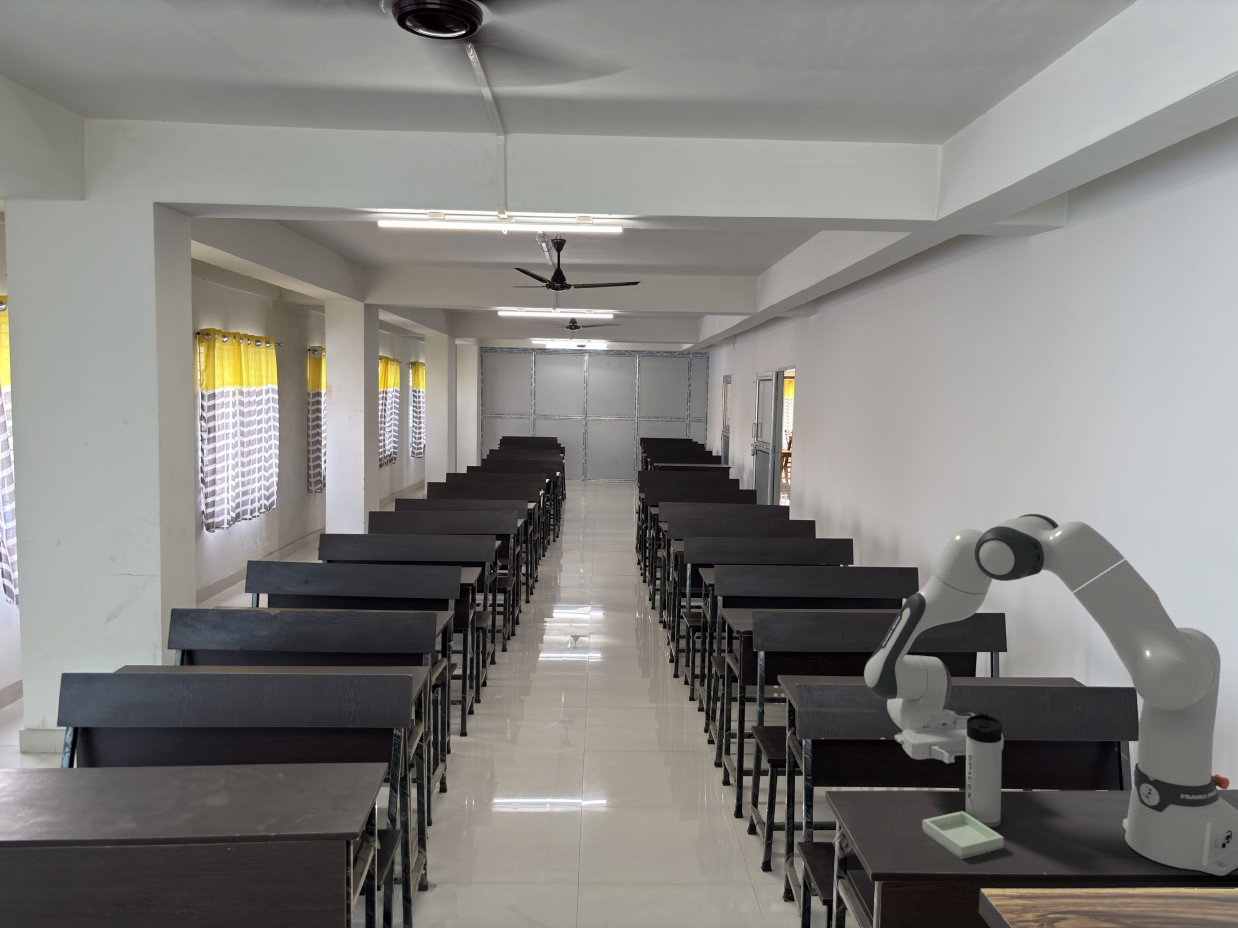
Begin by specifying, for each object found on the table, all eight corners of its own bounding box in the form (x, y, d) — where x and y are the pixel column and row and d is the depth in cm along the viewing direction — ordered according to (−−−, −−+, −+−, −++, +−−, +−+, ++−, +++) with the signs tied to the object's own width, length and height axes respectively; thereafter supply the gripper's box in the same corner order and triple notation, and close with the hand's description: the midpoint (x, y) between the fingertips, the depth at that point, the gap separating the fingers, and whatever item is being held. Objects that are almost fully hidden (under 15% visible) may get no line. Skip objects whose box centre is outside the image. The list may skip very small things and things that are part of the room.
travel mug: (999, 814, 166) (1001, 714, 164) (1001, 830, 160) (1002, 727, 158) (965, 808, 168) (966, 711, 166) (965, 824, 162) (966, 723, 160)
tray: (962, 821, 163) (962, 810, 163) (1003, 848, 153) (1003, 836, 153) (922, 830, 160) (922, 819, 160) (961, 858, 150) (961, 847, 150)
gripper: (890, 720, 178) (924, 746, 165) (979, 711, 182) (1020, 736, 168) (890, 749, 179) (924, 777, 165) (979, 740, 182) (1019, 767, 168)
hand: (973, 757), depth 167 cm, fingers open, 8 cm apart
